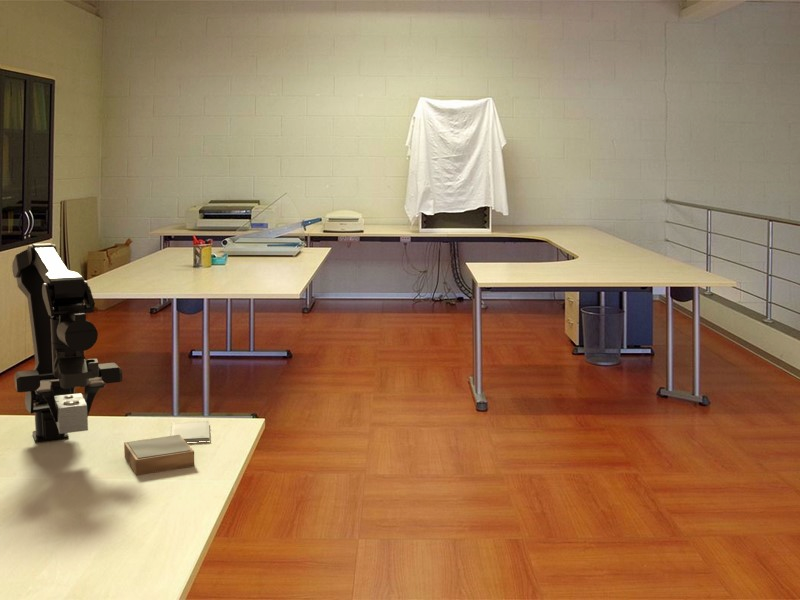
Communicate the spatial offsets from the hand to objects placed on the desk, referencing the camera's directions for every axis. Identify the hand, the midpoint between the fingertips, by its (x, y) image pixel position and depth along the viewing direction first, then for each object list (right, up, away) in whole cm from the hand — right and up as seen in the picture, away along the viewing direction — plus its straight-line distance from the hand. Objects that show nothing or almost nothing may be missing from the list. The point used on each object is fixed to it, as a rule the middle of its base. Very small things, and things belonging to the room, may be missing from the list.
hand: (71, 420), depth 155 cm
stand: (+16, -9, +3) cm, 19 cm away
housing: (0, -1, 0) cm, 1 cm away
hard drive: (+18, -7, +20) cm, 27 cm away
